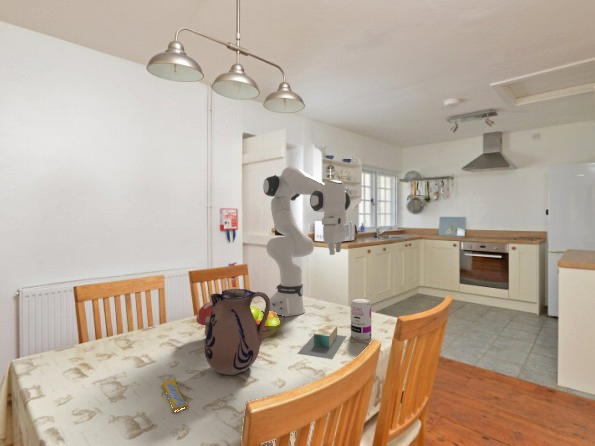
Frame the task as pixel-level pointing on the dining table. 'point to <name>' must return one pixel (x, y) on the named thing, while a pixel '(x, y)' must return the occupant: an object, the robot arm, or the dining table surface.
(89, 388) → the dining table surface
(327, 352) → the mat
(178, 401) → the candy bar
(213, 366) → the ceramic pitcher
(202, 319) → the decorative mushroom
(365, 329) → the supplement can
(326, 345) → the block
